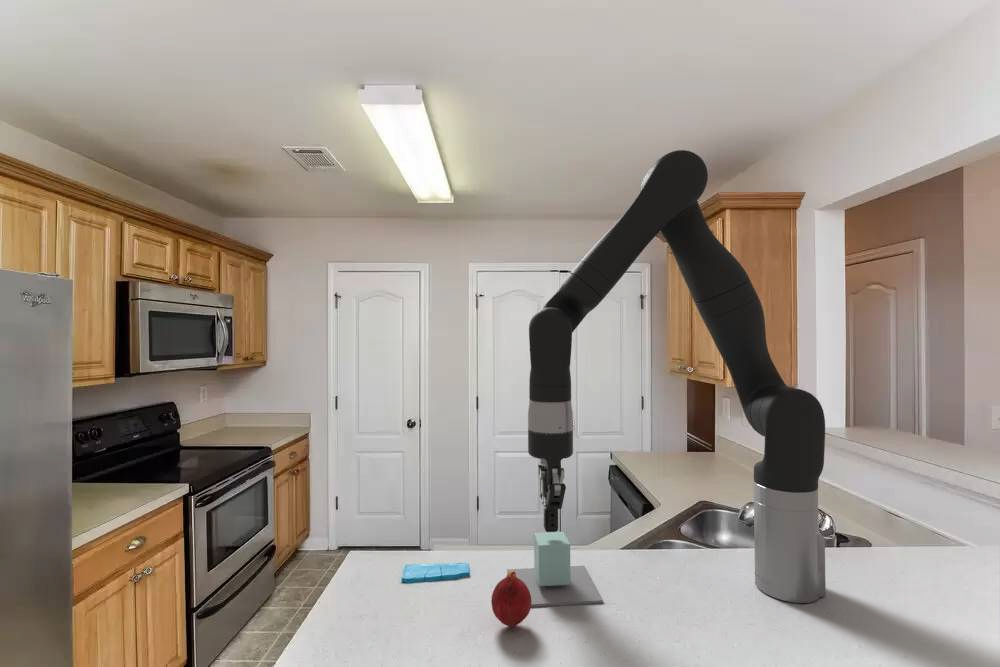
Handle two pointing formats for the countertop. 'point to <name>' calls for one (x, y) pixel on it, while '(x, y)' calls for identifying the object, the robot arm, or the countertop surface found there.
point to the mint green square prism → (552, 558)
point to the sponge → (434, 572)
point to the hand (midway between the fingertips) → (550, 530)
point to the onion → (511, 600)
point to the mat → (561, 588)
